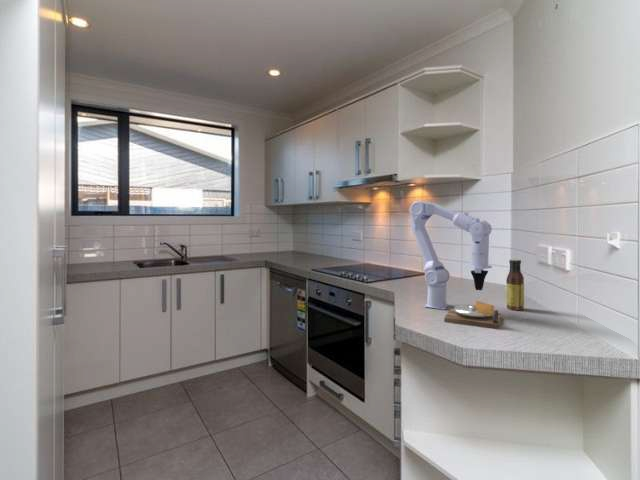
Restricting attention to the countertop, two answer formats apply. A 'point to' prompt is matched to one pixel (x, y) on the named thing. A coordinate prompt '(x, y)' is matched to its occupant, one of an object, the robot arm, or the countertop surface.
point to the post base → (474, 319)
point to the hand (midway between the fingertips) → (478, 289)
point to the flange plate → (475, 310)
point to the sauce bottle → (515, 286)
